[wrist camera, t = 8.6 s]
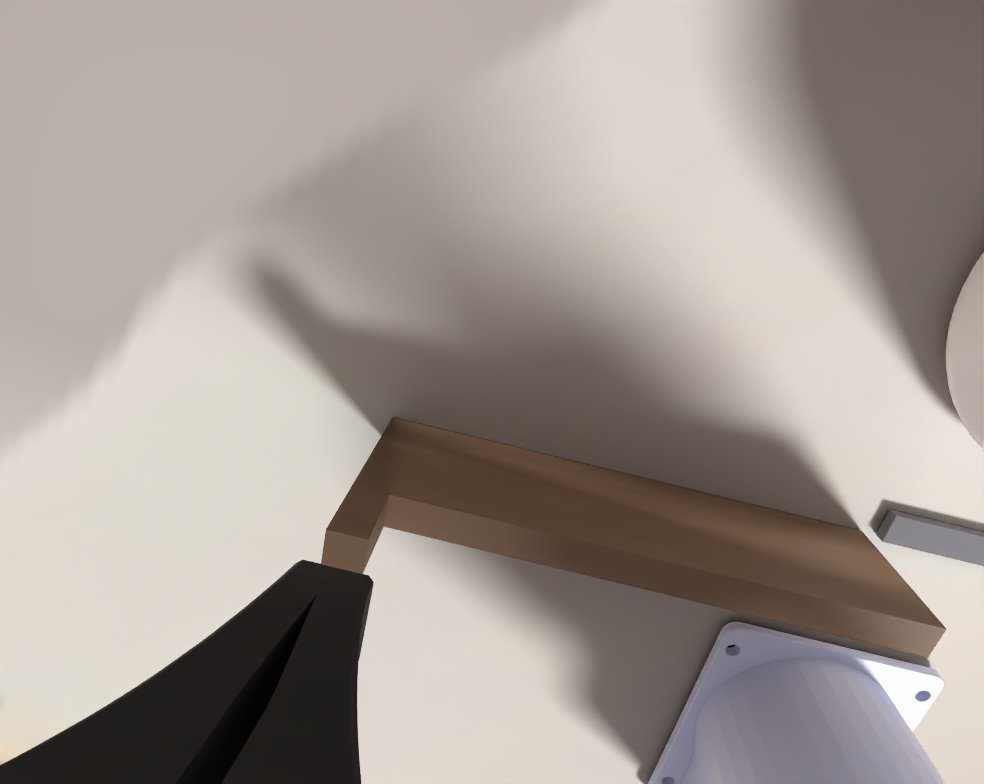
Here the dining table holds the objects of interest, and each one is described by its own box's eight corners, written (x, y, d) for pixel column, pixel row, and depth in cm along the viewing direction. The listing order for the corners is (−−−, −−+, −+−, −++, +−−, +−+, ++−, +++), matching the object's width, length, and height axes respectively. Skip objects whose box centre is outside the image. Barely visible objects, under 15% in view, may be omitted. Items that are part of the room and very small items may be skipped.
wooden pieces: (848, 555, 20) (978, 722, 14) (388, 443, 20) (321, 564, 14) (1223, -134, 13) (1794, -383, 7) (524, -309, 13) (507, -710, 7)
